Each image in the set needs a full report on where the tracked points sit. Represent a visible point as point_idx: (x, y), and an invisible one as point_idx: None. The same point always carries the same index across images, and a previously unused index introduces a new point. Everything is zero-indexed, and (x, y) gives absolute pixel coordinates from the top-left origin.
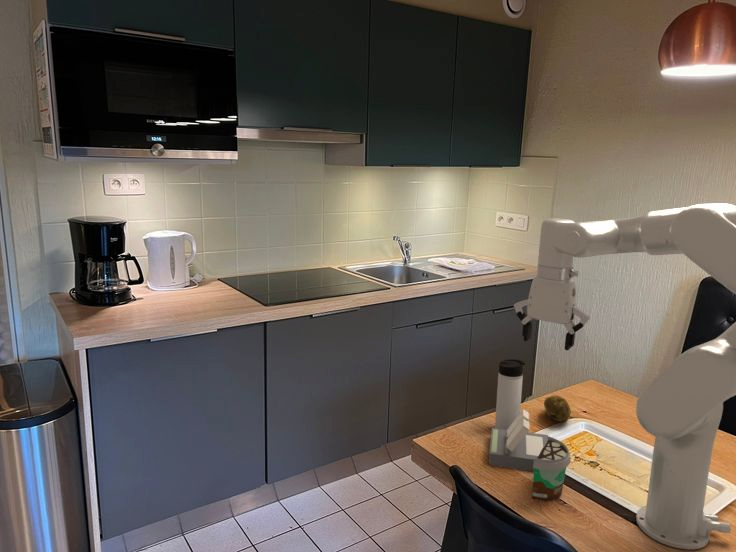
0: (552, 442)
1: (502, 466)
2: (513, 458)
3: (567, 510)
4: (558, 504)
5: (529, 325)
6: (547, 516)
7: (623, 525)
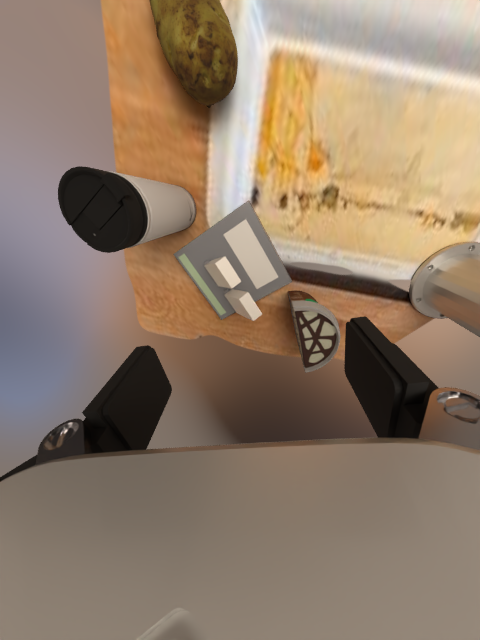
0: (303, 312)
1: None
2: None
3: None
4: None
5: (131, 443)
6: None
7: (394, 312)
